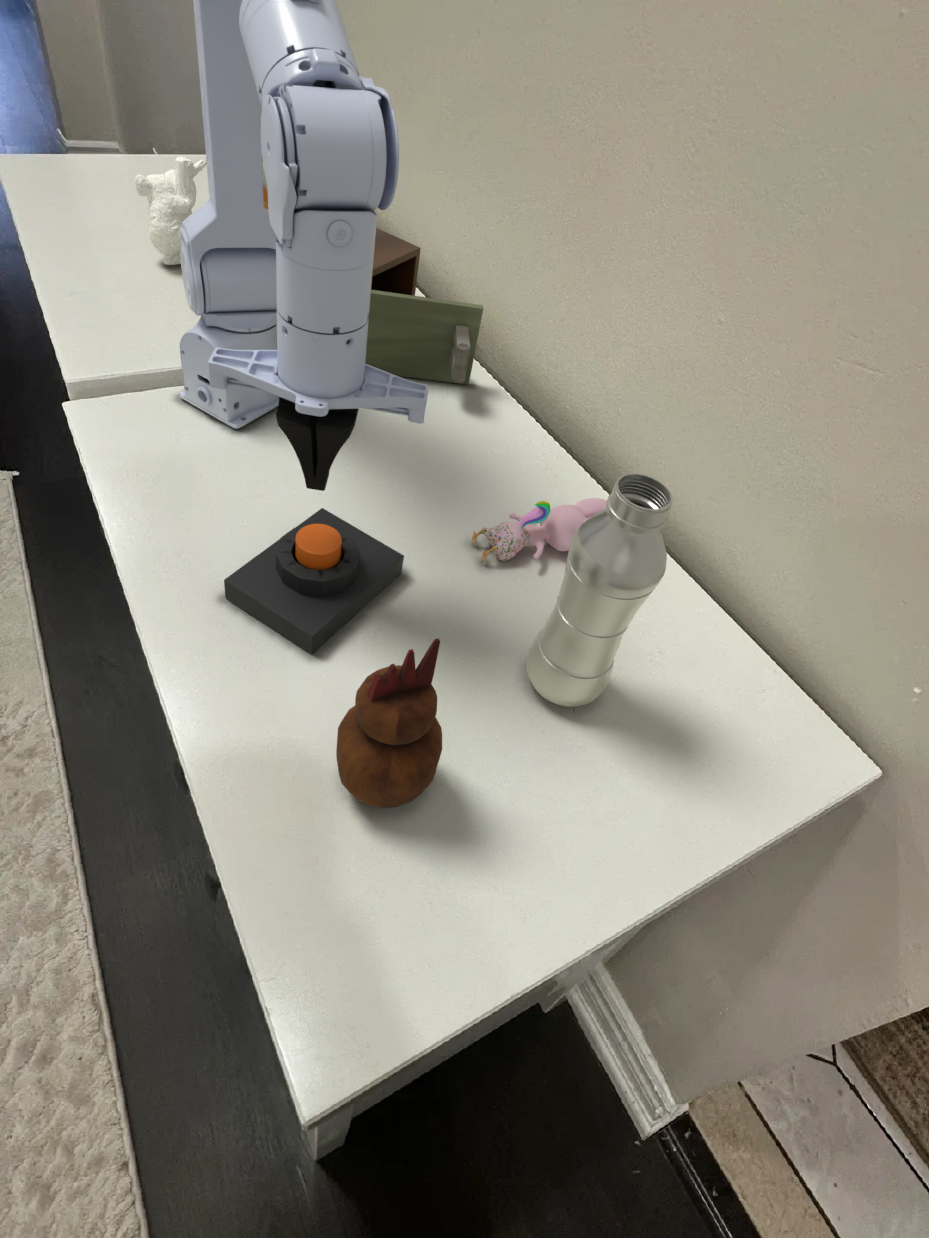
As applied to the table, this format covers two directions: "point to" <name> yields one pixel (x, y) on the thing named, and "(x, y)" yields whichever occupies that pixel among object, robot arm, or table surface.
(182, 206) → the koala figurine
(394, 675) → the wooden figurine
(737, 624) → the table surface
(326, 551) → the button
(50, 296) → the table surface
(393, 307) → the cupboard door
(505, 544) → the pink plastic animal figure
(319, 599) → the control block
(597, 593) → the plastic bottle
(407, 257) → the cupboard
